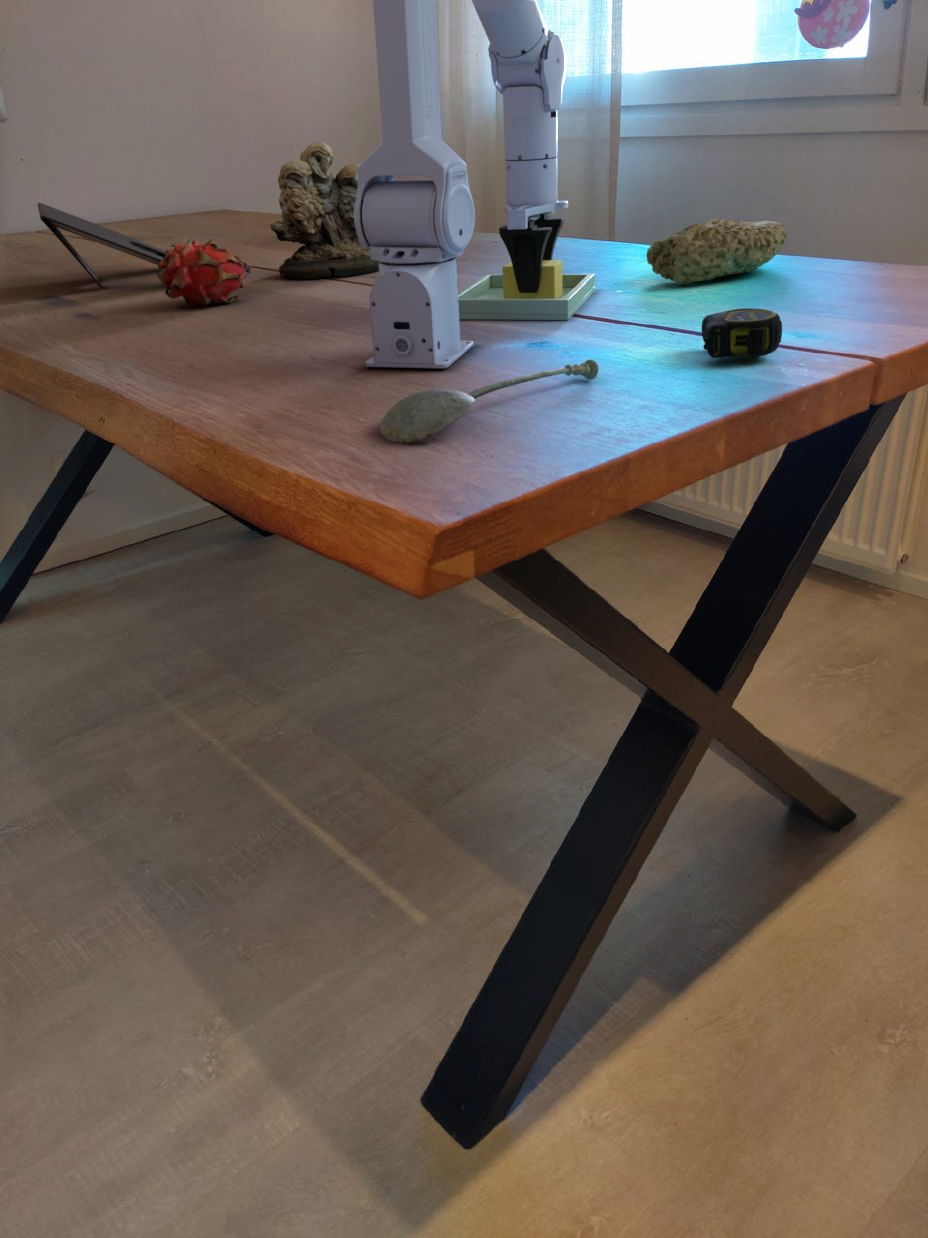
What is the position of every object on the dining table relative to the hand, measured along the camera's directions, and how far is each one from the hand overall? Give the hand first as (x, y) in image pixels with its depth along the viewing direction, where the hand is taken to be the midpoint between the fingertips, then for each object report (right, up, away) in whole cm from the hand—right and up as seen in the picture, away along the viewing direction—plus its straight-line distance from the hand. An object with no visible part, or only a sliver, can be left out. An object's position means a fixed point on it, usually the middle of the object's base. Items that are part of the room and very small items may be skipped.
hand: (533, 288), depth 116 cm
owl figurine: (-27, +12, +31) cm, 43 cm away
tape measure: (+16, -15, -25) cm, 33 cm away
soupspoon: (-5, -21, -36) cm, 42 cm away
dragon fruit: (-40, +2, +12) cm, 42 cm away
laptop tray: (-57, +12, +33) cm, 66 cm away
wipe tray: (-1, -1, +1) cm, 2 cm away
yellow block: (0, -1, +1) cm, 1 cm away
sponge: (+25, +6, +12) cm, 28 cm away
